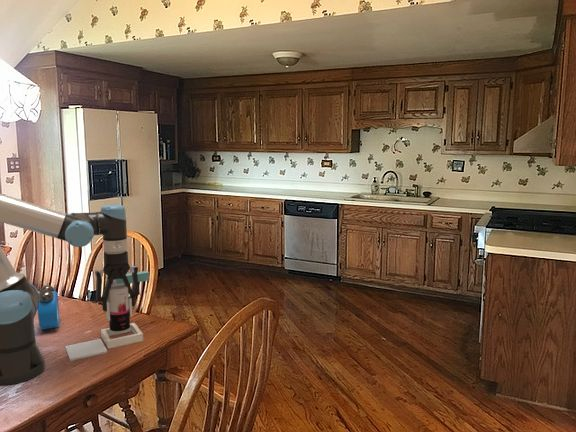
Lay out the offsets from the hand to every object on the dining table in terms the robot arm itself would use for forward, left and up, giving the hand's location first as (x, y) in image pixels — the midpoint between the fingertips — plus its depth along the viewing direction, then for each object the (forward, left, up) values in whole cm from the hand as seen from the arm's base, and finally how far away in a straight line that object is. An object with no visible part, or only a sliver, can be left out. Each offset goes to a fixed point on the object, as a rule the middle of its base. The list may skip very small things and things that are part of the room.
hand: (119, 317), depth 165 cm
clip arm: (+6, +11, +8) cm, 15 cm away
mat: (-12, -3, -8) cm, 14 cm away
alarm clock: (-20, +24, -8) cm, 32 cm away
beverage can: (0, 0, -4) cm, 4 cm away
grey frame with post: (0, +3, -8) cm, 8 cm away
